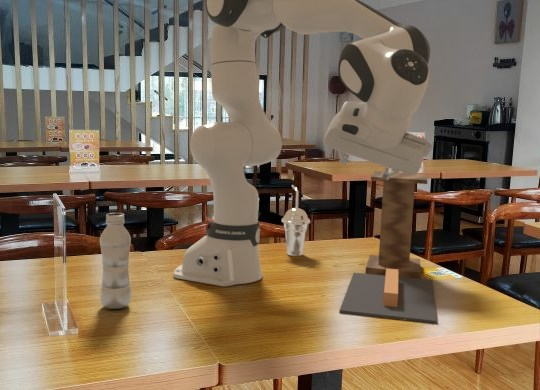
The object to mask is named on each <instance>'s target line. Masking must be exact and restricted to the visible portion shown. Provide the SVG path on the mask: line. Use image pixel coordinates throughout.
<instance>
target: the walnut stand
mask: <svg viewBox="0 0 540 390" xmlns="http://www.w3.org/2000/svg"><path fill="white" fill-rule="evenodd" d="M382 174H383V171H378V170H375V171H374V172H373V173H372V175H371V176H370V181H371V182H373V181H374V182H383V185H382V198H381V199H382V200H381V214H380V215H381V216H380V218H381V219H380V229H379V231H380V232H379V248H378V250H379V251H378V255H376V254H375V255H374V254H369V255H368V260H367V262H366V265H365V266H366V267H365V274H375V275H385V276H386V268H387V269H398V277H406V278H416V279H421V274H422V273H421V265H422V264H421V258H412V257H411V254H410V253H411V246H412V245H411V243H412V229H413V226H412V225H413V212H414V203H415V202H414V200H415V199H414V198H415V189H416V188H415V185H416V184H418V185H419V184H420V185H421V184H422V185H427V184H428V176H427V174H426V173H417V174H415V175H409V174H406V173H403V172H398V173H397V174H394V175H392V176H390V177H389V179H388V180H387V179H384V178H382Z"/></svg>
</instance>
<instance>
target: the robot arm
mask: <svg viewBox="0 0 540 390" xmlns="http://www.w3.org/2000/svg"><path fill="white" fill-rule="evenodd" d="M205 10H206V13H207V16H208V18H209V20H211V22H213V23H215V24H214V26H213V27H212V31H211V36H210V37H211V38H210V47H209V49H210V50H209V51H210V52H209V60H210V61H209V62H210V77H211V78H210V79H211V80H210V81H211V94H212V97H213V100H214V101H215V102H216V104H218V105H219V106H221V107H222V109H224V110H225V113H226V114H227V116H228V119H229V121H214V122H210V123H206V124H202V125H199V126H197V127H196V128H195V129H194V131H193V132H192V134H191V137H190V141H189V150H190V154H191V155H192V158H193V160H194V161H195V162H196V163H197V164H198V165H199V166H201V167H202V168H203V170H204V171H205V173H206V175H207V176H208V179H209V181H210V184H211V189H212V194H213V218H212V219H210V220H209V222H207V223H206V225H204V229H203V230H205V231H206V232H205V233H206V235H204V236H203V237H201V238H200V239H199V240H198V241H196V242H194V244H192V245H191V246H189V247H188V248H187V250H186V251H185V252H184V255H183V258H182V264H180V265H179V266H177V267H176V268H175V269H174V270H173V275H172V276H173V277H174V278H175V279H178V280H179V279H180V280H186V281H192V282H196V283H202V284H207V285H212V286H213V285H214V286H219V287H230V286H235V285H241V284H243V285H244V284H249V283H253V282H254V283H255V282H257V281H260V280H261V279H262V278H263V276H264V275H263V272H262V267H261V263H260V255H259V243H260V239H261V238H260V234H261V229H260V222H259V220H258V219H259V192H258V190H257V188H256V187H255V186H254V185H253V184H251V183H249V182H248V181H247V178H246V175H245V172H244V167H250V166H251V167H252V166H261V165H264V164H268V163H270V162H272V161H275V160H276V159H277V158H278V157H279V155H280V154H281V151H282V148H283V140H282V137H281V133H280V131H279V130H278V128H276V126H274V125H273V123H271V122H270V120H269V119H268V117H267V115H266V113H265V111H264V109H263V107H262V104H261V100H260V96H259V91H258V79H257V66H256V65H257V64H256V53H255V52H256V51H255V46H256V45H255V44H256V40H257V39H258V38H259V36H261V37H263V38H264V39H268V38H270V37H271V36H272V35H273V34H275V33H278V32H279V31H280V32H281V31H283V30H284V29H285V28H287V29H288V30H290V31H291V32H295V33H297V34H300V35H315V34H324V33H334V32H335V33H336V32H337V33H338V32H340V33H341V32H343V33H350V34H354V35H356V36H358V37H360V38H361V39H359V40H356V41H353V42H350V43H348V44H346V45H345V46H344V48H343V49H342V50H341V53H340V54H339V58H338V59H339V60H338V67H337V68H338V71H337V72H338V78H339V80H340V82H341V83H342V85H343V86H344V87H345V89H346V90H347V91H348V92H350V93H351V94H352V95H354V96H355V97H356V98H357V99H358V100H360V101H351V100H347V101H345V102H344V103H343V104H342V106H341V108H340V111H339V112H337V113H335V115H334V116H333V118H332V119H331V121H330V123H329V124H328V127H327V129H326V131H325V133H324V138H323V140H322V141H323V144H324V146H325V147H326V148H329V149H332V150H335V151H337V154H338V157H339V161H338V164H340V165H343V166H346V164H347V163H348V159H349V156H353V157H355V158H358V159H362V160H366V161H368V162H371V163H373V164H377V165H380V166H383V167H384V170H383V171H382V172H383V174H382V178H384V179H387V180H388V179H389V177H390V176H392V175H394V174H397V173H406V174H409V175H415V174H419V171H420V169H421V167H422V163H423V160H424V158H426V157H427V156H429V154H430V153H431V151H432V149H433V146H432V144H431V143H430V142H429V141H428V139H426V138H423V137H420V136H417V135H415V134H412V133H409V132H407V130H408V129H409V127H410V125H411V123H412V117H413V115H414V114H415V113H417V110H418V109H419V106H420V105H421V102H422V101H423V98H424V96H425V94H426V90H427V89H428V88H427V87H428V85H429V79H430V70H429V69H430V68H429V61H430V57H431V47H430V43H429V41H428V39H427V37H426V36H425V34H424V32H422V31H421V30H420V29H419V28H417V27H416V26H415V25H411V24H407V23H406V24H405V23H401V22H398V21H396V20H393V19H392V18H390V17H389V16H387V15H386V14H383V13H382V12H380V11H379V10H377V9H375V8H374V7H372V6H370V5H369V4H367V3H365V2H363V1H361V0H205Z"/></svg>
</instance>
